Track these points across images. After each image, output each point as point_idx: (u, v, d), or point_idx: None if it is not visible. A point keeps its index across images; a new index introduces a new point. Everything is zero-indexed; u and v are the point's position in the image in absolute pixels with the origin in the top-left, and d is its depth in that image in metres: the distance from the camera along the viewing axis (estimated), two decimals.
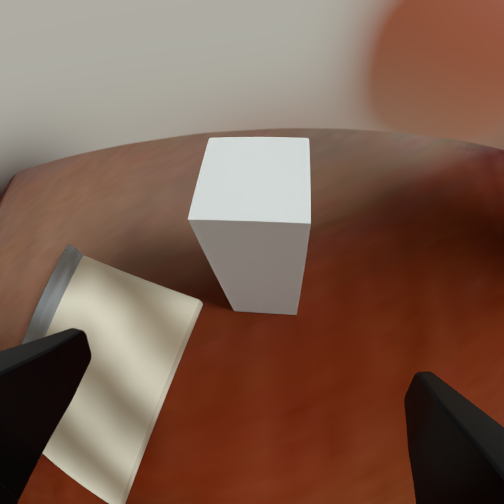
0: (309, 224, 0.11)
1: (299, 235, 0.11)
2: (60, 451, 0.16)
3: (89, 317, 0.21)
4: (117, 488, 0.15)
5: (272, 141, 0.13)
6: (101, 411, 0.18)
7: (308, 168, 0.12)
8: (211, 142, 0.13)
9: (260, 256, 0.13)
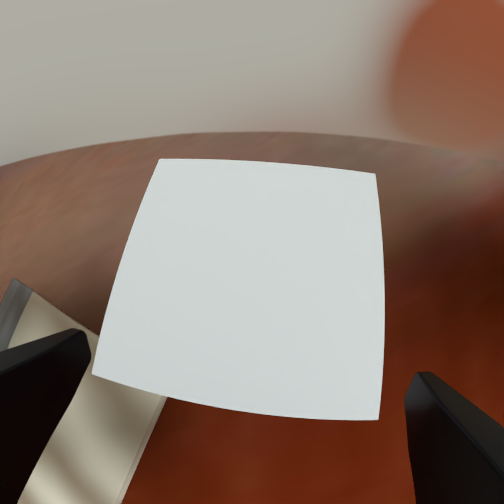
0: (374, 418, 0.04)
1: None
2: None
3: None
4: None
5: (296, 175, 0.06)
6: (56, 487, 0.11)
7: (379, 257, 0.05)
8: (161, 169, 0.06)
9: None
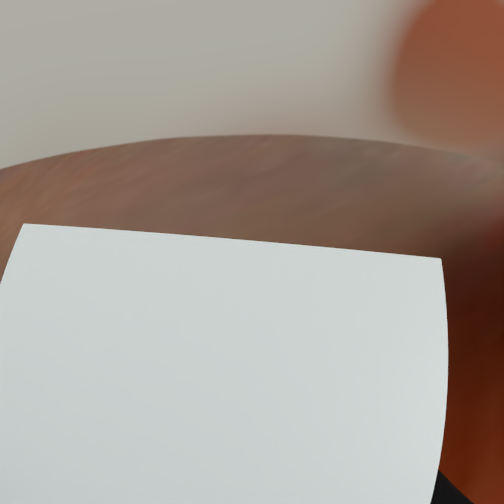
0: None
1: None
2: None
3: None
4: None
5: (261, 275, 0.02)
6: None
7: (431, 471, 0.02)
8: (21, 248, 0.03)
9: None
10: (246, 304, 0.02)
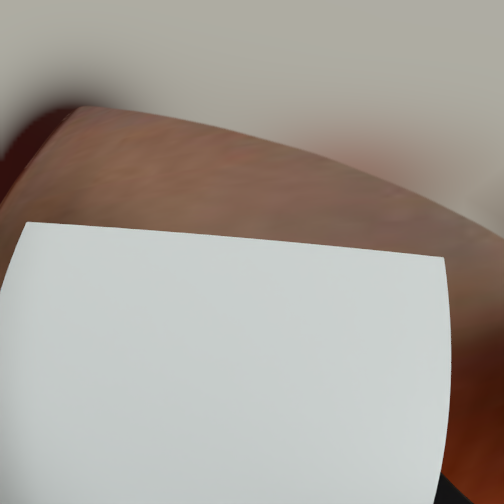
0: None
1: None
2: None
3: None
4: None
5: (267, 274, 0.02)
6: None
7: (434, 469, 0.02)
8: (24, 246, 0.03)
9: None
10: (251, 302, 0.02)
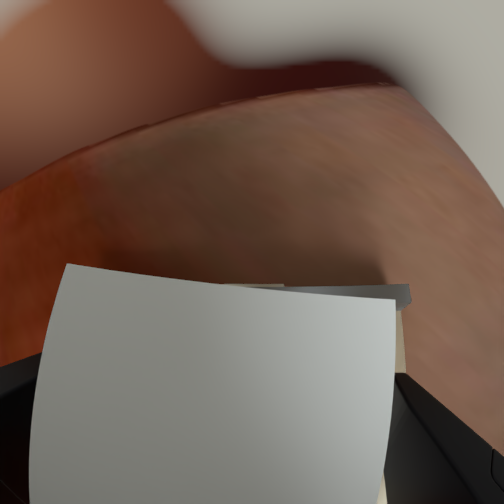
0: None
1: None
2: None
3: None
4: None
5: (261, 314, 0.03)
6: None
7: (381, 454, 0.03)
8: (68, 285, 0.04)
9: None
10: (250, 334, 0.03)
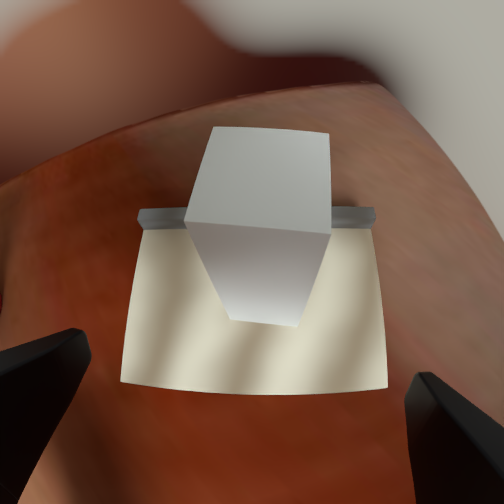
0: (329, 234, 0.09)
1: (315, 246, 0.10)
2: (150, 297, 0.21)
3: None
4: (144, 376, 0.18)
5: (287, 134, 0.11)
6: (224, 335, 0.20)
7: (328, 168, 0.10)
8: (215, 131, 0.11)
9: (266, 266, 0.12)
10: (284, 138, 0.11)
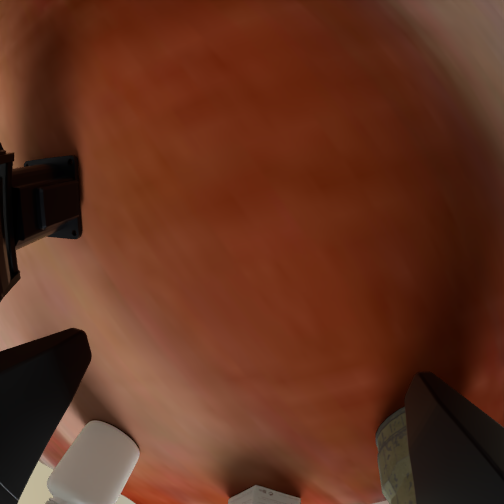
0: None
1: None
2: None
3: None
4: None
5: None
6: None
7: None
8: None
9: None
10: None
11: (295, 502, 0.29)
